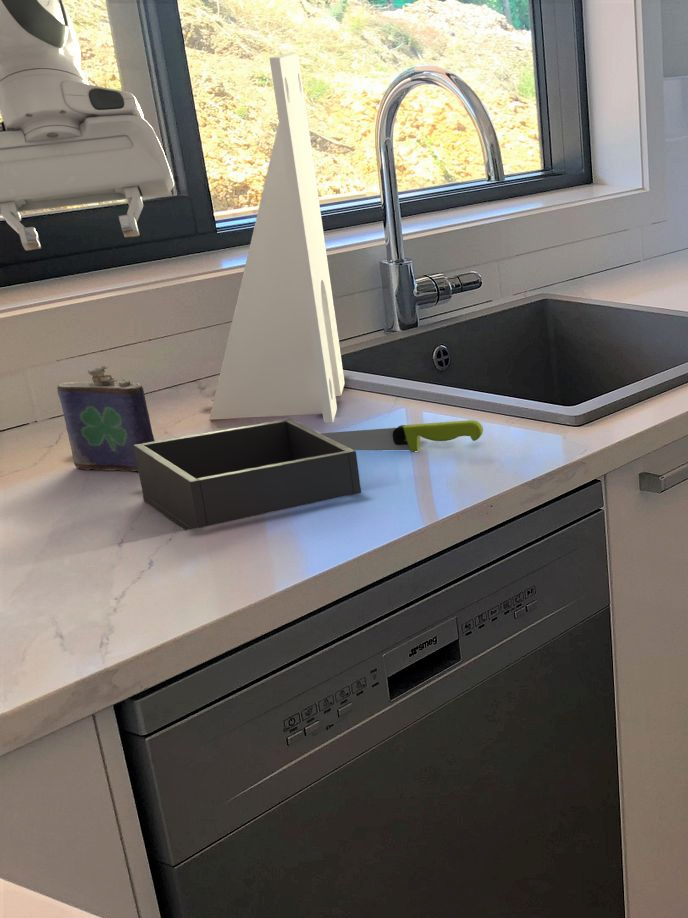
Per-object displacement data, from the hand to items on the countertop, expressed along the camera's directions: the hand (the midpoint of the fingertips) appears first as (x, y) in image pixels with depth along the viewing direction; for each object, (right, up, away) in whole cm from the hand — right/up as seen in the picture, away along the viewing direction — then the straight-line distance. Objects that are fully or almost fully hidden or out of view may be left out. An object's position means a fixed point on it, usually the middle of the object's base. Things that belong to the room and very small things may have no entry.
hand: (82, 240), depth 145 cm
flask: (+2, -23, +3) cm, 24 cm away
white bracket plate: (+9, -13, +27) cm, 31 cm away
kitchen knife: (+28, -21, +10) cm, 36 cm away
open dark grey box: (+21, -28, -7) cm, 36 cm away
